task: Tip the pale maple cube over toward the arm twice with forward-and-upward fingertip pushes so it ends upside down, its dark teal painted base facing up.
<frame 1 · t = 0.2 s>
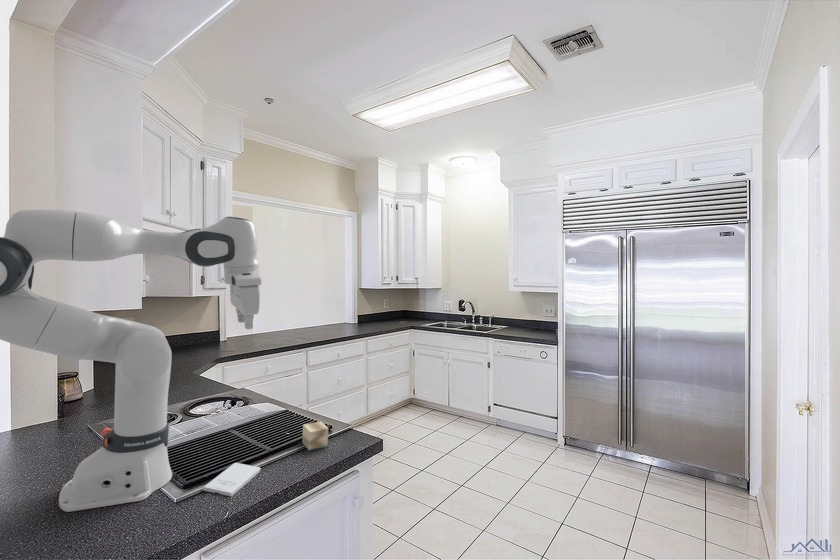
hand: (245, 325, 116), 39 cm above the countertop, tool pointing down, fingers open, 8 cm apart
maple cube: (314, 444, 131), on the countertop
external hard drive: (232, 482, 108), on the countertop
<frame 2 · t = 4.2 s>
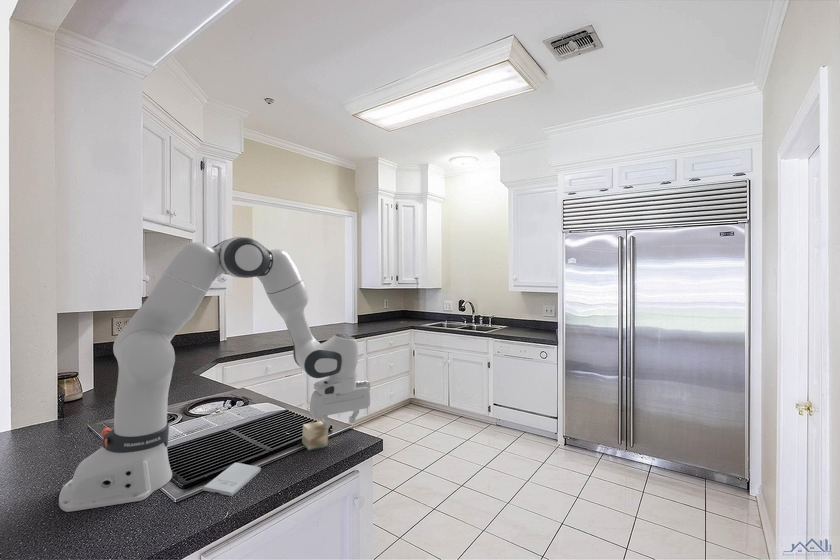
hand: (339, 424, 135), 5 cm above the countertop, tool pointing down, fingers open, 8 cm apart
maple cube: (314, 444, 131), on the countertop, touching gripper
everything else where it was.
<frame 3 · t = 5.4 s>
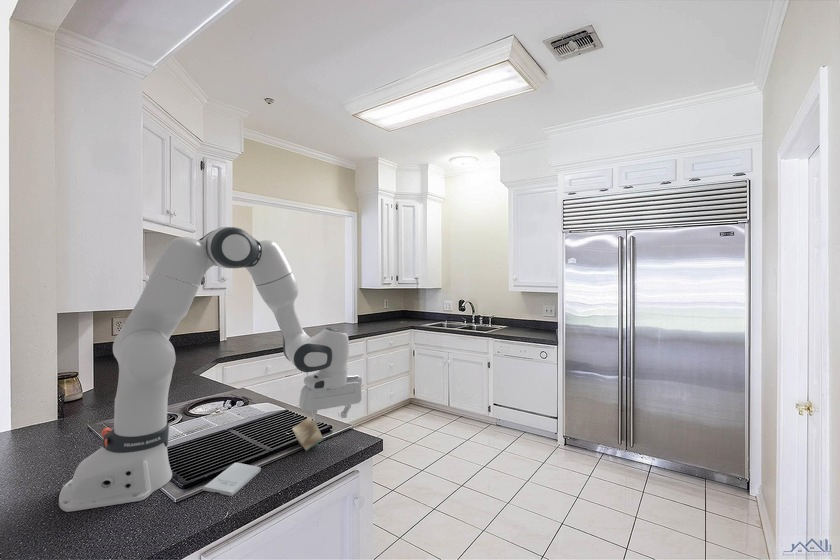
hand: (330, 420, 133), 7 cm above the countertop, tool pointing down, fingers open, 8 cm apart
maple cube: (311, 441, 130), point 1 cm above the countertop, tilted 27°, touching gripper
everything else where it was.
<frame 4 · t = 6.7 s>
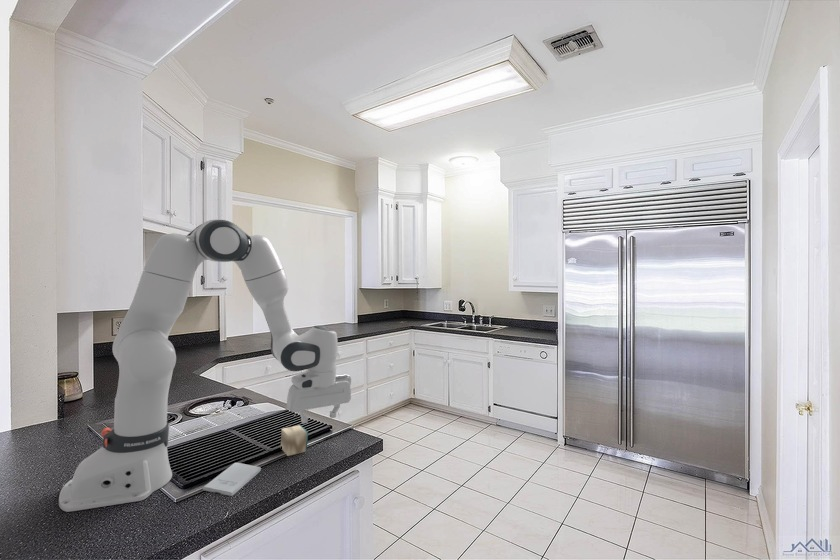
hand: (318, 419, 131), 8 cm above the countertop, tool pointing down, fingers open, 8 cm apart
maple cube: (303, 437, 129), point 3 cm above the countertop, tilted 90°
everything else where it was.
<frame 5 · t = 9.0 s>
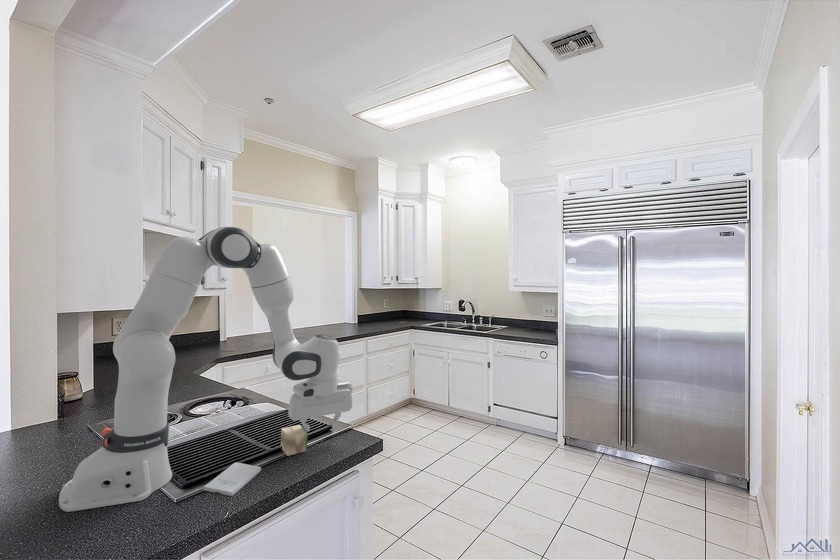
hand: (320, 428, 131), 5 cm above the countertop, tool pointing down, fingers open, 8 cm apart
maple cube: (303, 437, 128), point 3 cm above the countertop, tilted 91°, touching gripper
everything else where it was.
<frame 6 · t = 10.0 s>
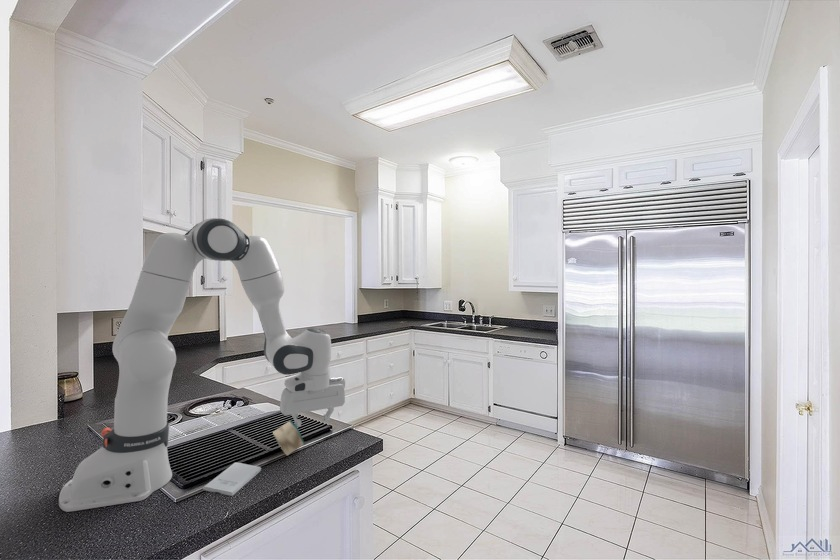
hand: (312, 423, 130), 7 cm above the countertop, tool pointing down, fingers open, 8 cm apart
maple cube: (297, 431, 127), point 5 cm above the countertop, tilted 116°, touching gripper
everything else where it was.
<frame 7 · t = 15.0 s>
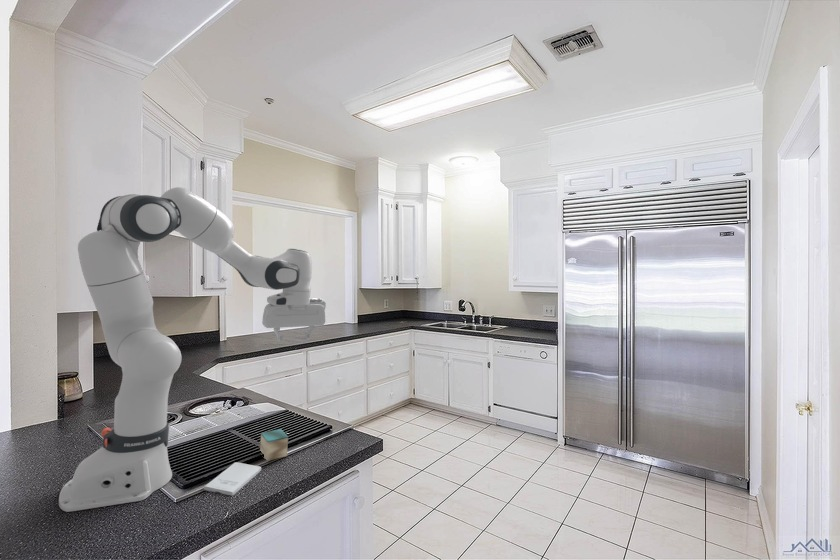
hand: (293, 339, 137), 31 cm above the countertop, tool pointing down, fingers open, 8 cm apart
maple cube: (274, 434, 123), point 6 cm above the countertop, tilted 180°
everything else where it was.
at the end: maple cube tilted 180°; maple cube inside the target area (0.4 cm from its centre), point 5.9 cm above the countertop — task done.
